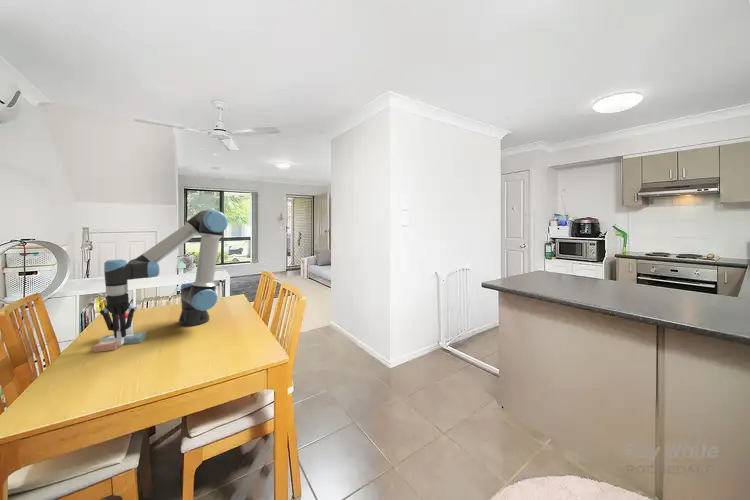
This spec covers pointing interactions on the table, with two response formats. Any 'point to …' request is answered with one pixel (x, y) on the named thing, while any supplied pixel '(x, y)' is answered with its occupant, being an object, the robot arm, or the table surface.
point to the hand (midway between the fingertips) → (120, 344)
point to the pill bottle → (130, 329)
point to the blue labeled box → (127, 338)
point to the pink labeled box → (106, 346)
